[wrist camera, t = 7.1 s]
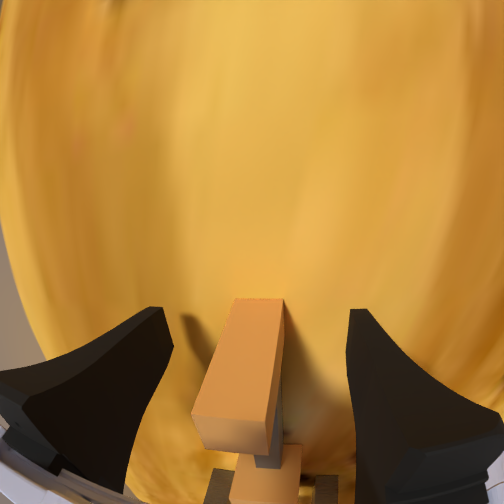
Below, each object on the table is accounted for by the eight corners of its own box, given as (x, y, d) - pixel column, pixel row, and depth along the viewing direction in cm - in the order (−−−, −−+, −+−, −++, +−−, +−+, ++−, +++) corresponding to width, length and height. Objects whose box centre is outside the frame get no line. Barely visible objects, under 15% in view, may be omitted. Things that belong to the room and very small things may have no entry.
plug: (300, 468, 18) (293, 536, 13) (247, 465, 19) (233, 531, 13) (307, 298, 12) (304, 422, 7) (211, 298, 13) (158, 408, 7)
